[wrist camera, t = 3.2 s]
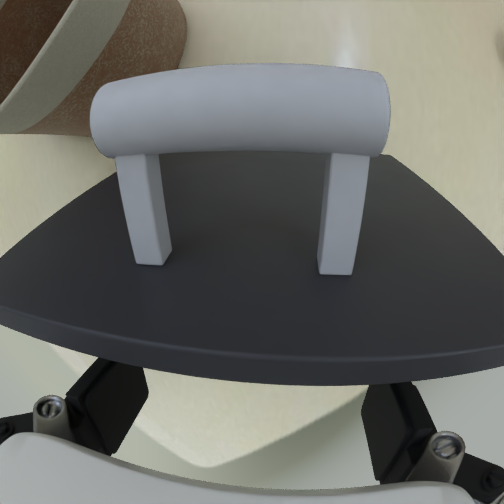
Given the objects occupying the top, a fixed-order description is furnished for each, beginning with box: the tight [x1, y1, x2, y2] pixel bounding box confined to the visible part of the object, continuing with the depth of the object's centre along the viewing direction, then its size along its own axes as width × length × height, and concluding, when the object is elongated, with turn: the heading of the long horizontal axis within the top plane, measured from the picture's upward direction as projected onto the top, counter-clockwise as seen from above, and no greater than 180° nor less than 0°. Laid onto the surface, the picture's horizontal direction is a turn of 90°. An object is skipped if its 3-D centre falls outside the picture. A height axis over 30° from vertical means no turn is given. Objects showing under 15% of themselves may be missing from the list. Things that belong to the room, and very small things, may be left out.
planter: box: [0, 0, 186, 136], centre depth 13 cm, size 16×16×14 cm
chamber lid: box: [0, 63, 504, 386], centre depth 10 cm, size 16×16×5 cm
